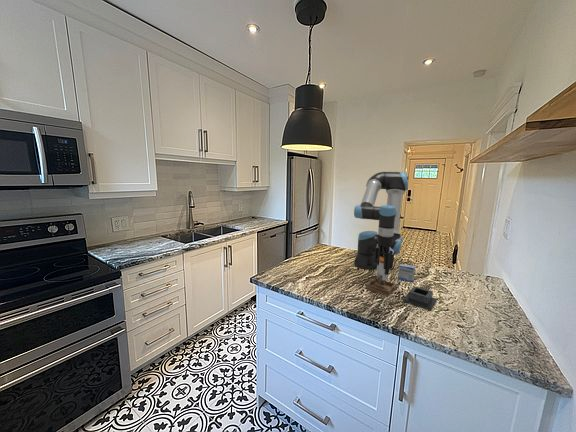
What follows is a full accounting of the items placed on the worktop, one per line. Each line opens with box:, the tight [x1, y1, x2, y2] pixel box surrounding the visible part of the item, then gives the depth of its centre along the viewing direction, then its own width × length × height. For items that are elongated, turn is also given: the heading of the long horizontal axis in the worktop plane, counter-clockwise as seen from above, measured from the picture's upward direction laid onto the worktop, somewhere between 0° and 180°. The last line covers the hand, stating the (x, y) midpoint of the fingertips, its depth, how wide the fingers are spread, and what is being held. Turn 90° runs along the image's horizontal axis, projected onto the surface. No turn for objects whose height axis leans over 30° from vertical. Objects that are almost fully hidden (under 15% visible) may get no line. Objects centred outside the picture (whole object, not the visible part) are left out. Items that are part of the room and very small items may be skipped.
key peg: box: [377, 255, 387, 285], centre depth 129 cm, size 4×4×15 cm
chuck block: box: [402, 285, 438, 312], centre depth 118 cm, size 12×12×5 cm
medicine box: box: [397, 263, 416, 283], centre depth 143 cm, size 8×4×9 cm, turn 62°
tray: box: [365, 277, 398, 297], centre depth 131 cm, size 12×12×3 cm
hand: (381, 278), depth 130 cm, fingers closed on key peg, 4 cm apart
